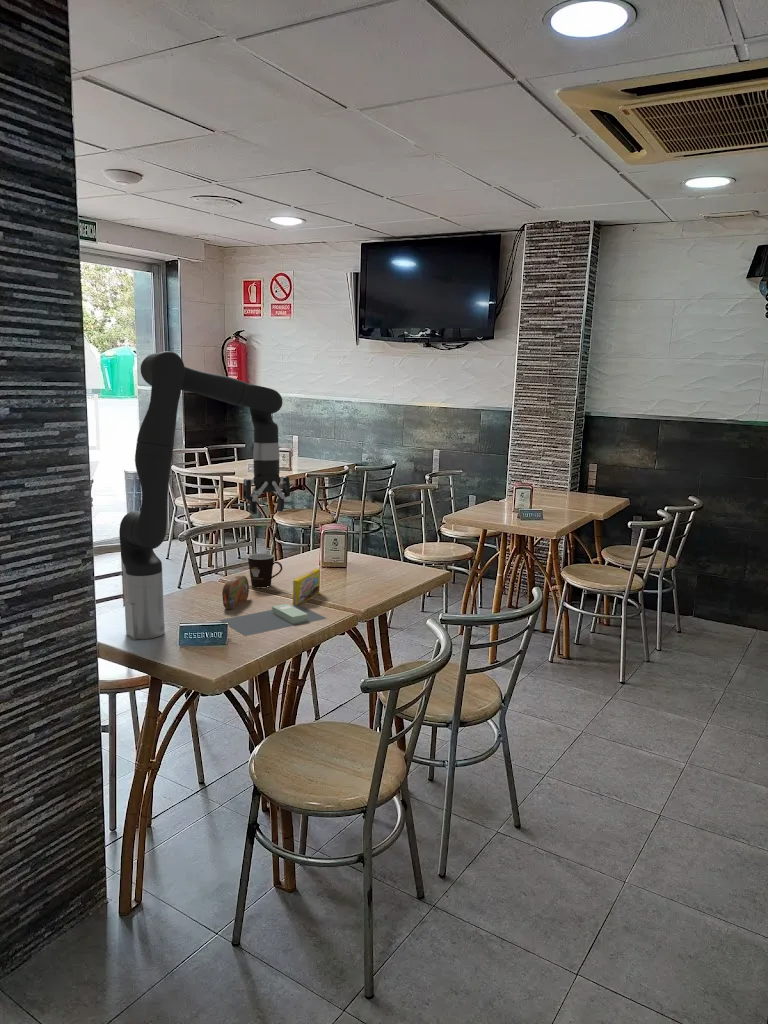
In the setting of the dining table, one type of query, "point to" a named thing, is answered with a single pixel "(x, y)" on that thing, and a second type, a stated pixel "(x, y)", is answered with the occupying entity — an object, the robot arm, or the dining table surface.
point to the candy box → (306, 586)
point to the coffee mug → (261, 569)
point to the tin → (235, 592)
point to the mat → (266, 621)
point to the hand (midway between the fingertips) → (267, 512)
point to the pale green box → (290, 613)
